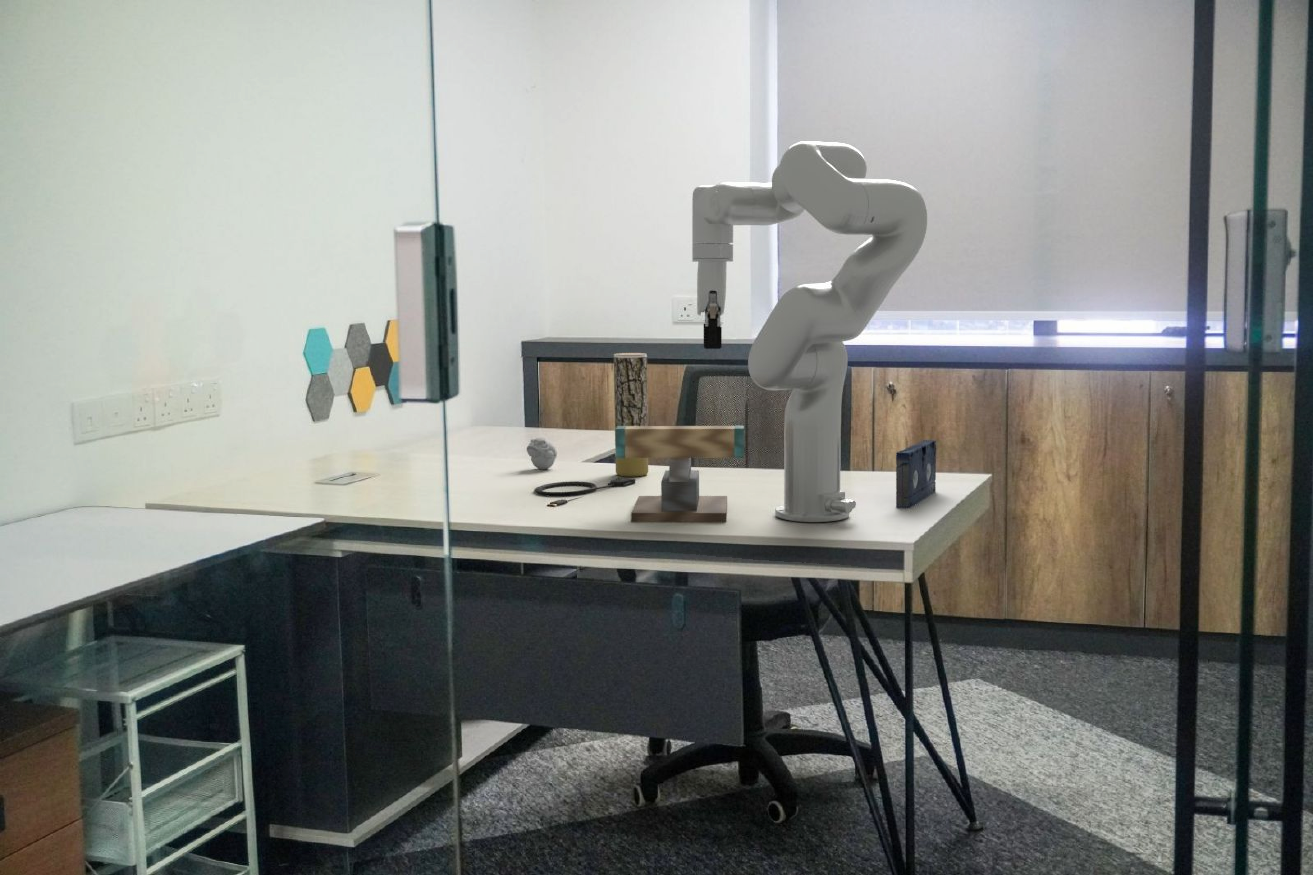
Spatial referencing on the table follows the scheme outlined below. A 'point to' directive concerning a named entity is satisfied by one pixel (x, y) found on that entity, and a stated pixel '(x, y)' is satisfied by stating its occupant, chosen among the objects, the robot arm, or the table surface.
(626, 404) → the bark log
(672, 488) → the fulcrum stand
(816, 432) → the robot arm
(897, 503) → the vhs cassette tape
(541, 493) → the cable
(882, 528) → the table surface
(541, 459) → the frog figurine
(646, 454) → the oak beam
